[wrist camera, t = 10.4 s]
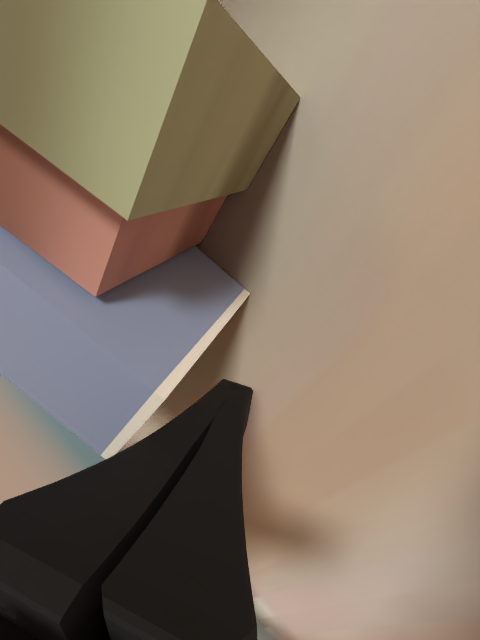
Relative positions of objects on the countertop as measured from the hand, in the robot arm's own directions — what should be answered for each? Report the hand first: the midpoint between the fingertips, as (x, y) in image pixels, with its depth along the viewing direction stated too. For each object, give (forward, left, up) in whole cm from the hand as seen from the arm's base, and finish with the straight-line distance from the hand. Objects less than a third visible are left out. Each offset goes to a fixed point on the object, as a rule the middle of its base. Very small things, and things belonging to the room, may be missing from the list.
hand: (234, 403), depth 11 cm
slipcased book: (+6, -1, -3) cm, 6 cm away
